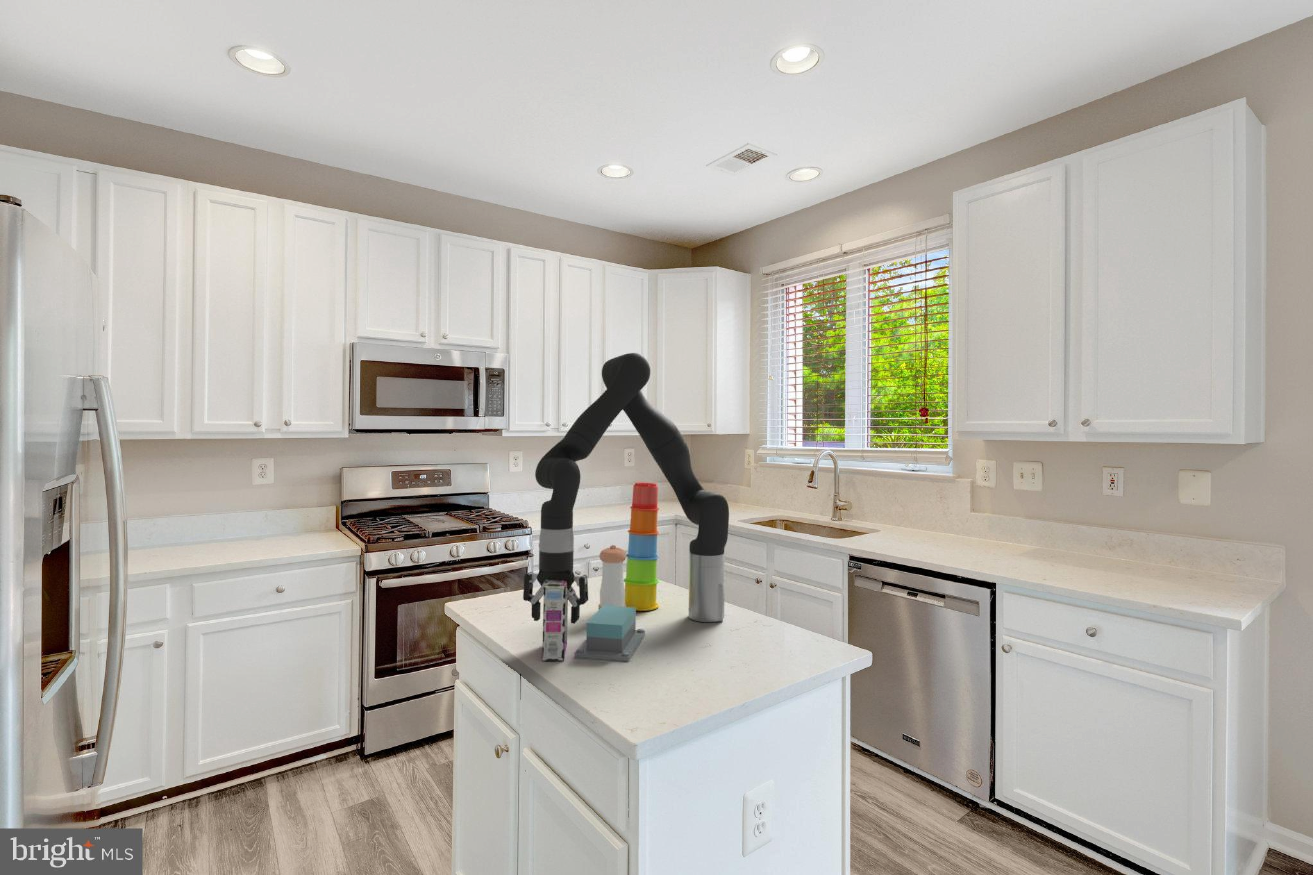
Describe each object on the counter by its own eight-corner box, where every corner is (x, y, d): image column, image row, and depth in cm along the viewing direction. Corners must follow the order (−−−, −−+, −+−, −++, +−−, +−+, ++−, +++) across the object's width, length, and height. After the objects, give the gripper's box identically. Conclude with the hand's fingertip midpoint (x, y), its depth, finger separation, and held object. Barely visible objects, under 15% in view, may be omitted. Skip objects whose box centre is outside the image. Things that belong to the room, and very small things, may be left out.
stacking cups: (620, 602, 179) (622, 481, 179) (656, 601, 181) (657, 481, 180) (622, 612, 169) (624, 484, 169) (660, 611, 170) (662, 484, 170)
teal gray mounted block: (645, 634, 151) (645, 605, 151) (628, 661, 133) (629, 628, 133) (597, 631, 153) (597, 602, 153) (574, 657, 136) (575, 625, 136)
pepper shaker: (627, 614, 167) (628, 543, 167) (623, 623, 160) (624, 548, 160) (601, 613, 168) (601, 542, 168) (595, 622, 161) (596, 547, 160)
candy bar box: (565, 661, 133) (566, 584, 133) (541, 662, 133) (542, 584, 132) (568, 643, 144) (569, 572, 144) (546, 644, 144) (547, 572, 144)
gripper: (592, 546, 141) (591, 618, 141) (532, 543, 143) (531, 614, 143) (582, 552, 133) (581, 628, 133) (519, 549, 136) (518, 624, 136)
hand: (555, 621), depth 138 cm, fingers open, 8 cm apart
